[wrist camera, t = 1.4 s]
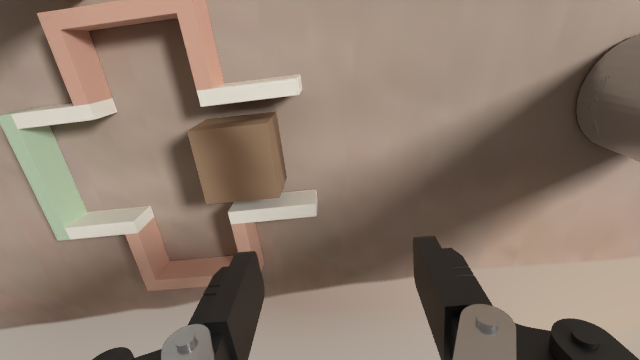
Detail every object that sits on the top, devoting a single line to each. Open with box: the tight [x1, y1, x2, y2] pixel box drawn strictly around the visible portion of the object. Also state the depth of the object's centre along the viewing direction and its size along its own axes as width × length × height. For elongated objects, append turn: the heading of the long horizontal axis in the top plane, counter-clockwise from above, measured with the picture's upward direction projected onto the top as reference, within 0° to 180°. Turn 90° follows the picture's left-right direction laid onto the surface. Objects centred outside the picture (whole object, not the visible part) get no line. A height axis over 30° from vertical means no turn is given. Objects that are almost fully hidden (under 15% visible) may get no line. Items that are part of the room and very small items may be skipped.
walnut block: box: [187, 112, 287, 204], centre depth 28 cm, size 6×6×4 cm
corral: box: [0, 0, 318, 291], centre depth 29 cm, size 24×24×3 cm
